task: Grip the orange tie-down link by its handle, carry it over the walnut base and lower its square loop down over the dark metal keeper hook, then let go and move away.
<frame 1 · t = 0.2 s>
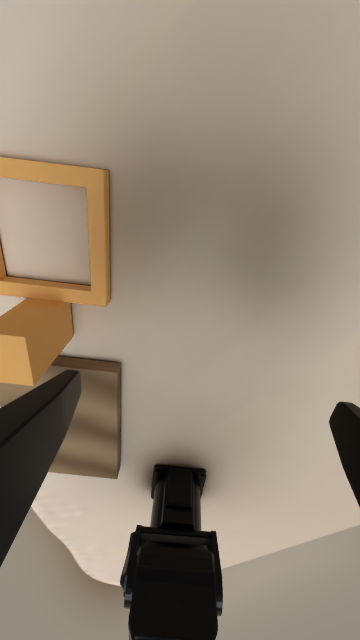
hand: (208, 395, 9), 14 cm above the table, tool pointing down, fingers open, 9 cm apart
hook plate: (66, 415, 30), on the table
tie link: (45, 235, 21), on the table
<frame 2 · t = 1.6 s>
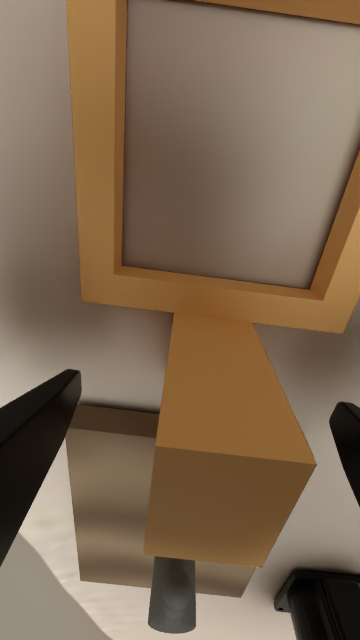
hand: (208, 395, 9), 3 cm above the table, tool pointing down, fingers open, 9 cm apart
hook plate: (173, 505, 18), on the table
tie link: (236, 169, 9), on the table
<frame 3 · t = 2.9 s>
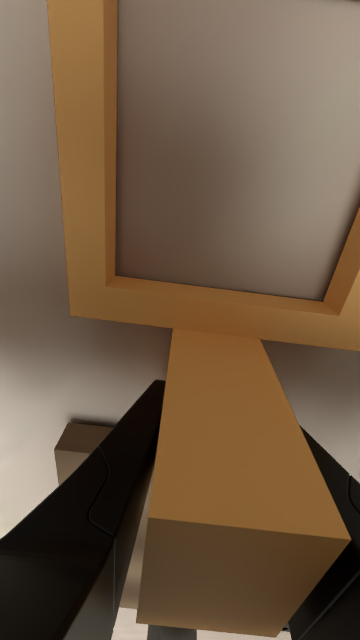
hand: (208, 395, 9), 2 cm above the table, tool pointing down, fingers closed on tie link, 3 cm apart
hook plate: (173, 525, 17), on the table
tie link: (243, 169, 8), on the table, touching gripper
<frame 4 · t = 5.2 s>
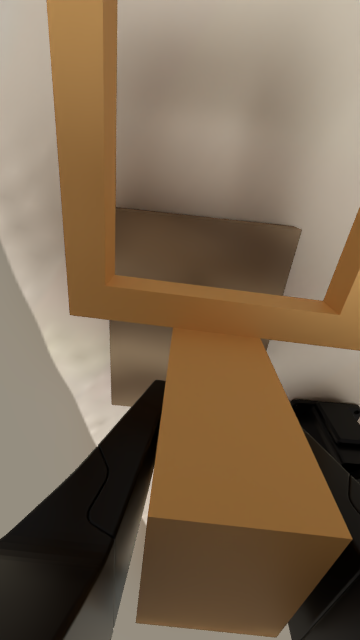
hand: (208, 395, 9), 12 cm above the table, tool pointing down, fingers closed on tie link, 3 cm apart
hook plate: (189, 323, 21), on the table
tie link: (243, 167, 8), point 10 cm above the table, touching gripper
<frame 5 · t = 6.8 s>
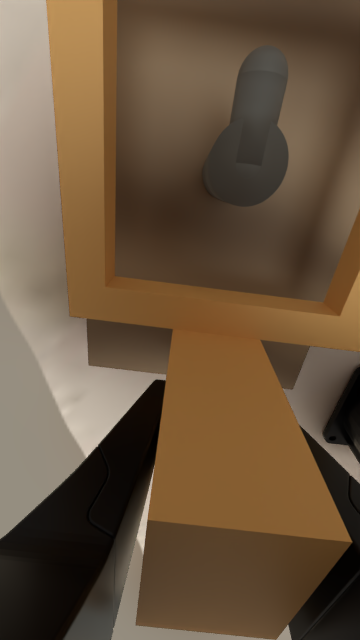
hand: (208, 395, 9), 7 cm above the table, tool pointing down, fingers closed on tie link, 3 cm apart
hook plate: (213, 231, 13), on the table
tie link: (243, 169, 8), point 5 cm above the table, touching gripper
when the fingers open (5 cm above the table, at t = 7.8 s): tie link drops 1 cm, resting on hook plate.
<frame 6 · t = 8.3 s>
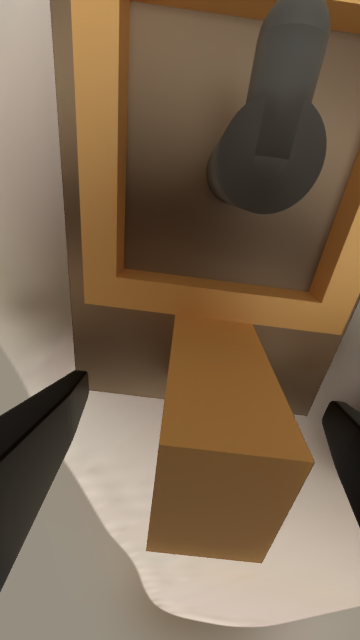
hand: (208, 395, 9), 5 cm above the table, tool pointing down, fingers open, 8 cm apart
hook plate: (218, 239, 12), on the table
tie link: (236, 174, 9), point 1 cm above the table, touching hook plate
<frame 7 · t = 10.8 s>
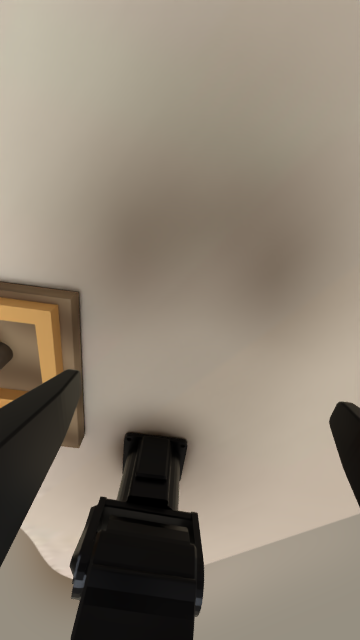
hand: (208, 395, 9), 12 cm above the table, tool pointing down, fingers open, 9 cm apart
hook plate: (15, 366, 24), on the table
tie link: (1, 352, 22), point 1 cm above the table, touching hook plate
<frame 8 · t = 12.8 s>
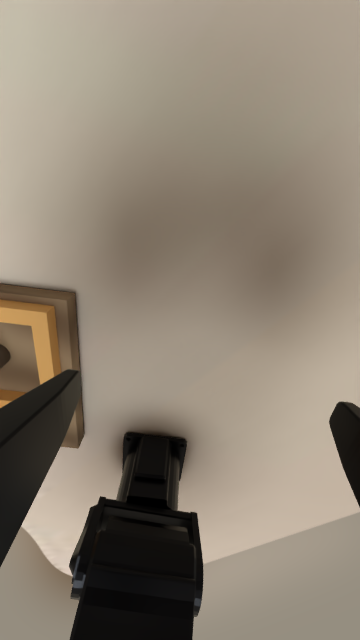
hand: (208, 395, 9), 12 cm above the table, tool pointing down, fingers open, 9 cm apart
hook plate: (14, 367, 24), on the table
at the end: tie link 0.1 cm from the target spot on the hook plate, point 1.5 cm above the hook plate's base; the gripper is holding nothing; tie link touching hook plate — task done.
